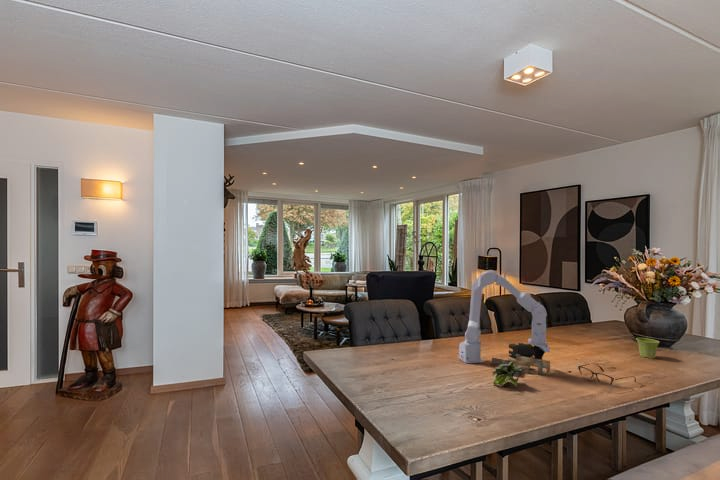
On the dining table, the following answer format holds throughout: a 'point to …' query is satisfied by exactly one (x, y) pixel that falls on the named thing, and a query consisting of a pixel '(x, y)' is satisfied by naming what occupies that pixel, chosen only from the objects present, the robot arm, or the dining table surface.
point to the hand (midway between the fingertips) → (538, 363)
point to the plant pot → (647, 347)
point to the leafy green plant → (506, 373)
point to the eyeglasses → (601, 374)
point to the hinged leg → (532, 362)
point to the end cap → (521, 350)
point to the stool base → (526, 368)
